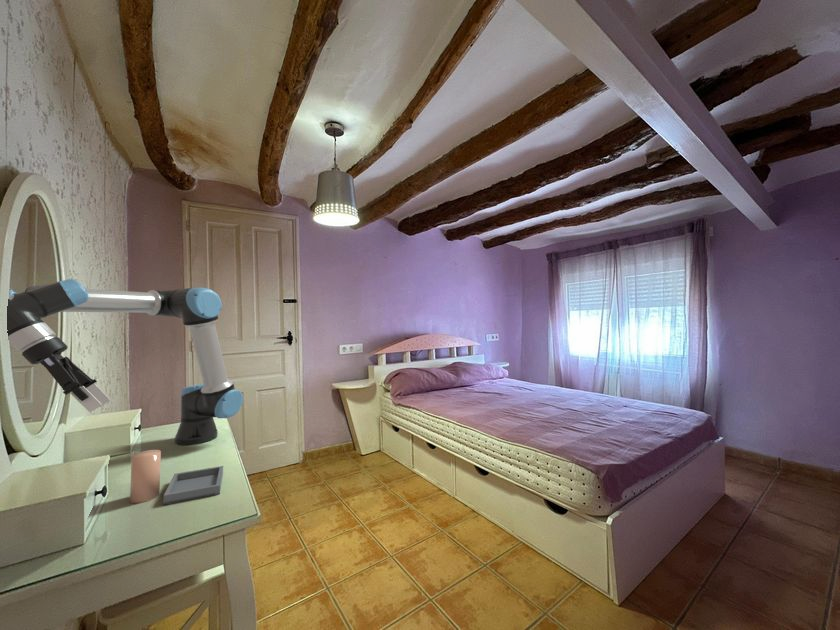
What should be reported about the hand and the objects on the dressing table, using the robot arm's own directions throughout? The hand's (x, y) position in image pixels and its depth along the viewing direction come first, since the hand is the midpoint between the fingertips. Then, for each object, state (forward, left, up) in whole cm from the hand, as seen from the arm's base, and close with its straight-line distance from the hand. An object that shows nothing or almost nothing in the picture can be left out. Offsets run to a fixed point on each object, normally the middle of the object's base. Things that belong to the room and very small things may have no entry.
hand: (101, 406), depth 91 cm
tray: (-15, +17, -26) cm, 35 cm away
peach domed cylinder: (-6, +9, -26) cm, 28 cm away
